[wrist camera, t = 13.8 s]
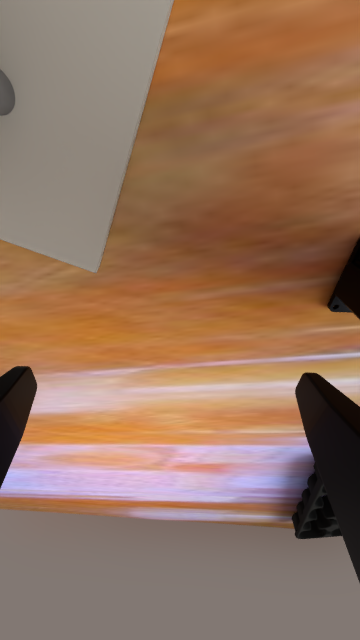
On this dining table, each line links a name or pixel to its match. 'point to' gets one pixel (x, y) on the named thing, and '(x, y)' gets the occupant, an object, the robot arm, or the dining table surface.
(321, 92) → the dining table surface
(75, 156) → the peg plate
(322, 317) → the dining table surface
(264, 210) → the dining table surface
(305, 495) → the black muffin pan
